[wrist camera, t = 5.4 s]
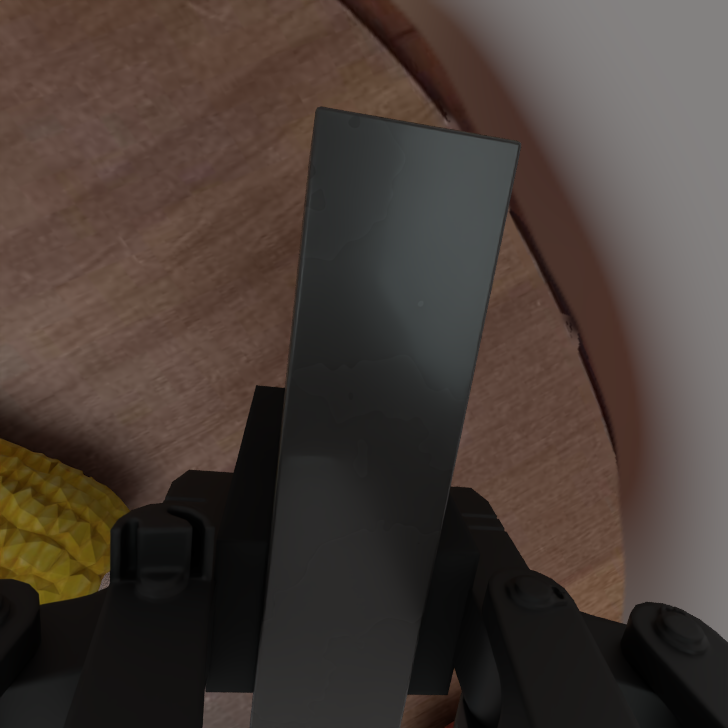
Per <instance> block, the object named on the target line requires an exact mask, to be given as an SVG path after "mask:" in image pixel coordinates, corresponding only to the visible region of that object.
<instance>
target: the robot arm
mask: <svg viewBox="0 0 728 728" xmlns="http://www.w3.org/2000/svg"><path fill="white" fill-rule="evenodd" d="M284 392H285V388H279V387H269V386H258V385H256V388H255V392H254V396H253V400H252V404H251V408H250V412H249V415H248V419H247V423H246V427H245V431H244V435H243V439H242V443H241V446H240V450H239V454H238V458H237V462H236V466H235V470H234V473H229V472H214V471H200V470H188V471H187V472H185V473H184V474H183V475H181V476H180V477H179V478H177V479H176V480H174V481H173V482H172V484H171V486H170V488H169V491H168V493H167V495H166V497H165V500H164V501H163V503H157V504H150V505H146V506H143V507H140V508H137V509H134V510H132V511H130V512H128V513H127V514H125V515H124V516H122V517H120V518H119V519H118V520H117V521H116V523H115V524H114V525H113V527H112V528H111V530H110V584H109V587H107V588H105V589H102V590H100V591H98V592H95V593H93V594H90V595H86V596H82V597H78V598H74V599H68V600H63V601H57V602H52V603H46V604H41V605H40V601H39V593H38V592H37V591H36V590H35V589H34V588H33V587H32V586H31V585H30V584H28V583H25V582H21V581H18V580H15V579H0V728H202V726H203V709H204V693H205V686H206V692H240V693H253V691H254V682H255V672H256V663H257V654H258V644H259V635H260V626H261V616H262V607H263V598H264V588H265V579H266V570H267V560H268V551H269V542H270V532H271V522H272V512H273V502H274V492H275V482H276V472H277V462H278V452H279V442H280V432H281V422H282V412H283V402H284ZM454 668H455V671H456V674H457V677H458V680H459V683H460V686H461V690H462V693H461V697H460V701H459V705H458V709H457V713H456V717H455V721H454V726H453V728H728V642H727V641H726V640H725V639H723V638H722V637H721V636H720V635H719V634H718V633H717V632H716V631H714V630H713V629H712V628H710V627H709V626H708V625H706V624H705V623H704V622H702V621H701V620H700V619H698V618H696V617H694V616H693V615H691V614H689V613H687V612H686V611H684V610H682V609H679V608H677V607H672V606H670V605H666V604H663V603H653V602H645V603H642V604H638V605H636V606H635V607H634V609H633V610H632V612H631V614H630V616H629V619H628V623H627V625H626V624H622V623H619V622H615V621H611V620H608V619H604V618H600V617H597V616H593V615H590V614H587V613H584V612H581V611H579V609H578V607H577V606H576V604H575V602H574V600H573V599H572V597H571V596H570V595H569V594H568V592H567V591H566V590H565V589H564V588H563V587H562V586H560V585H559V584H558V583H556V582H555V581H554V580H553V579H551V578H549V577H547V576H545V575H543V574H540V573H538V572H536V571H533V570H530V569H529V568H528V566H527V564H526V563H525V561H524V559H523V558H522V556H521V555H520V553H519V551H518V550H517V548H516V546H515V545H514V543H513V542H512V540H511V538H510V537H509V535H508V533H507V532H505V531H504V527H503V525H502V524H501V522H500V520H499V519H497V515H496V514H495V512H494V511H493V509H492V507H491V506H490V504H489V502H488V501H487V500H486V499H484V498H483V497H482V496H481V495H479V494H478V493H477V492H475V491H474V490H473V489H472V488H466V487H451V486H450V491H449V495H448V500H447V505H446V510H445V515H444V520H443V524H442V529H441V534H440V539H439V544H438V548H437V553H436V558H435V563H434V568H433V572H432V577H431V582H430V587H429V592H428V596H427V601H426V606H425V611H424V616H423V620H422V625H421V630H420V635H419V640H418V644H417V649H416V654H415V659H414V664H413V668H412V673H411V678H410V683H409V688H408V693H407V695H448V691H449V687H450V683H451V679H452V674H453V670H454Z"/></svg>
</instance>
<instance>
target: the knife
mask: <svg viewBox="0 0 728 728" xmlns="http://www.w3.org/2000/svg"><path fill="white" fill-rule="evenodd" d="M520 149H521V143H520V142H518V141H515V140H509V139H503V138H498V137H492V136H486V135H481V134H475V133H469V132H464V131H458V130H452V129H446V128H441V127H435V126H429V125H424V124H418V123H412V122H406V121H401V120H395V119H389V118H384V117H378V116H372V115H366V114H361V113H355V112H349V111H344V110H338V109H332V108H326V107H318V108H317V109H316V112H315V120H314V127H313V135H312V142H311V150H310V158H309V166H308V176H307V185H306V194H305V204H304V213H303V223H302V232H301V241H300V251H299V260H298V270H297V279H296V288H295V298H294V307H293V317H292V326H291V335H290V345H289V354H288V364H287V373H286V382H285V392H284V402H283V412H282V422H281V432H280V442H279V452H278V462H277V472H276V482H275V492H274V502H273V512H272V522H271V532H270V542H269V551H268V560H267V570H266V579H265V588H264V598H263V607H262V616H261V626H260V635H259V644H258V654H257V663H256V672H255V682H254V691H253V699H252V709H251V719H250V728H400V726H401V721H402V717H403V712H404V707H405V702H406V697H407V693H408V688H409V683H410V678H411V673H412V668H413V664H414V659H415V654H416V649H417V644H418V640H419V635H420V630H421V625H422V620H423V616H424V611H425V606H426V601H427V596H428V592H429V587H430V582H431V577H432V572H433V568H434V563H435V558H436V553H437V548H438V544H439V539H440V534H441V529H442V524H443V520H444V515H445V510H446V505H447V500H448V495H449V491H450V486H451V481H452V476H453V471H454V467H455V462H456V457H457V452H458V447H459V443H460V438H461V433H462V428H463V423H464V419H465V414H466V409H467V404H468V399H469V395H470V390H471V385H472V380H473V375H474V371H475V366H476V361H477V356H478V351H479V347H480V342H481V337H482V332H483V327H484V323H485V318H486V313H487V308H488V303H489V298H490V294H491V289H492V284H493V279H494V274H495V270H496V265H497V260H498V255H499V250H500V246H501V241H502V236H503V231H504V226H505V222H506V217H507V212H508V207H509V202H510V198H511V193H512V188H513V183H514V178H515V173H516V169H517V164H518V159H519V154H520Z"/></svg>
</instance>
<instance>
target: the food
mask: <svg viewBox="0 0 728 728" xmlns="http://www.w3.org/2000/svg"><path fill="white" fill-rule="evenodd" d="M128 512H130V510H129V509H128V508H127V506H126V505H125V504H124V503H123V501H122V500H121V499H120V498H119V497H118V496H117V495H116V494H115V493H114V492H113V491H112V490H111V489H110V488H108V487H107V486H105V485H103V484H101V483H98V482H97V481H95V480H94V479H93V478H92V477H87V476H85V475H84V474H83V471H80V470H78V469H75V468H72V467H70V466H67V465H65V464H63V463H61V462H60V461H59V460H58V459H51V458H49V457H46V456H45V455H44V454H43V453H35V452H32V451H30V450H28V449H26V448H24V447H21V446H19V445H16V444H14V443H11V442H8V441H6V440H3V439H1V438H0V579H15V580H18V581H21V582H25V583H28V584H30V585H31V586H32V587H33V588H34V589H35V590H36V591H37V592H38V593H39V601H40V605H41V604H46V603H52V602H57V601H63V600H68V599H74V598H78V597H82V596H86V595H90V594H93V593H95V592H98V589H99V587H100V584H101V580H102V578H103V577H104V575H105V574H106V573H107V572H109V571H110V530H111V528H112V527H113V525H114V524H115V523H116V521H117V520H118V519H119V518H120V517H122V516H124V515H125V514H127V513H128Z"/></svg>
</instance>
